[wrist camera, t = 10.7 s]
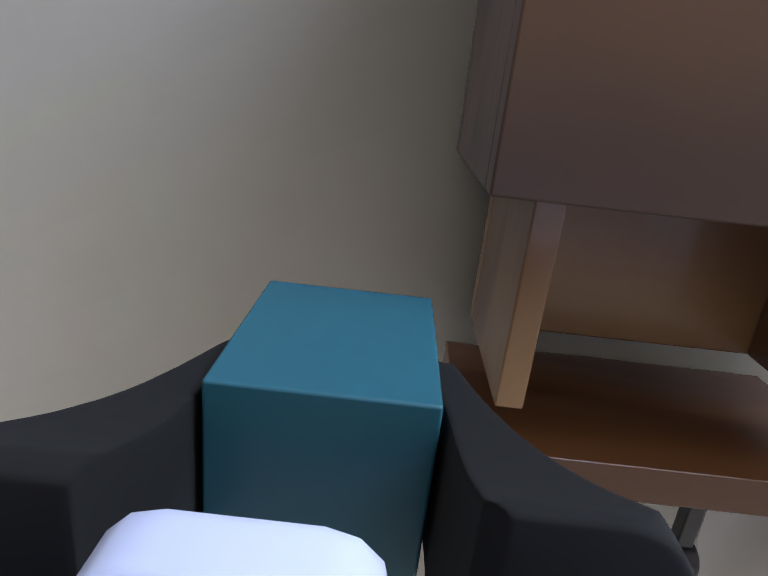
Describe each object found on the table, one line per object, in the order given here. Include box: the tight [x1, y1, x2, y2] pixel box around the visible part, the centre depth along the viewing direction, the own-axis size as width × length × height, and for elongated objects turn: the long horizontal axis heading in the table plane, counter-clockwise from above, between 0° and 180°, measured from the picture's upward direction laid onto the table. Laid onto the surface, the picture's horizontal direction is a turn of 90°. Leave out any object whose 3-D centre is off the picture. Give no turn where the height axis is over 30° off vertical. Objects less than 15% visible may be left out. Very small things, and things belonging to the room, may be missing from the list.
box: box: [202, 281, 443, 576], centre depth 12 cm, size 4×4×5 cm
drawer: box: [443, 196, 768, 576], centre depth 18 cm, size 18×12×7 cm
